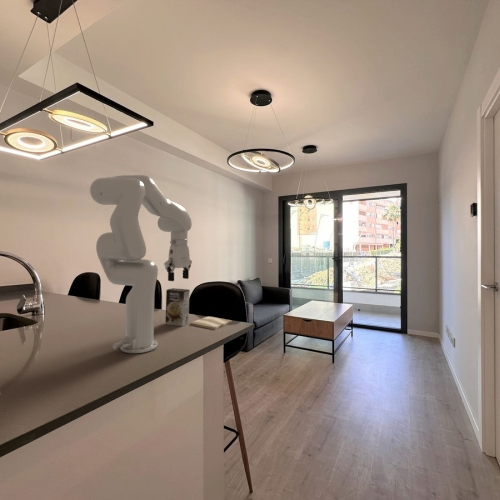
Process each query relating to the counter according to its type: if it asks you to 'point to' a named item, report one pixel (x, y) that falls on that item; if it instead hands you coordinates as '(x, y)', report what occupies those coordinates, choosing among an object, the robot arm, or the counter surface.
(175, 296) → the coffee box
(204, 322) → the cream folded cloth
